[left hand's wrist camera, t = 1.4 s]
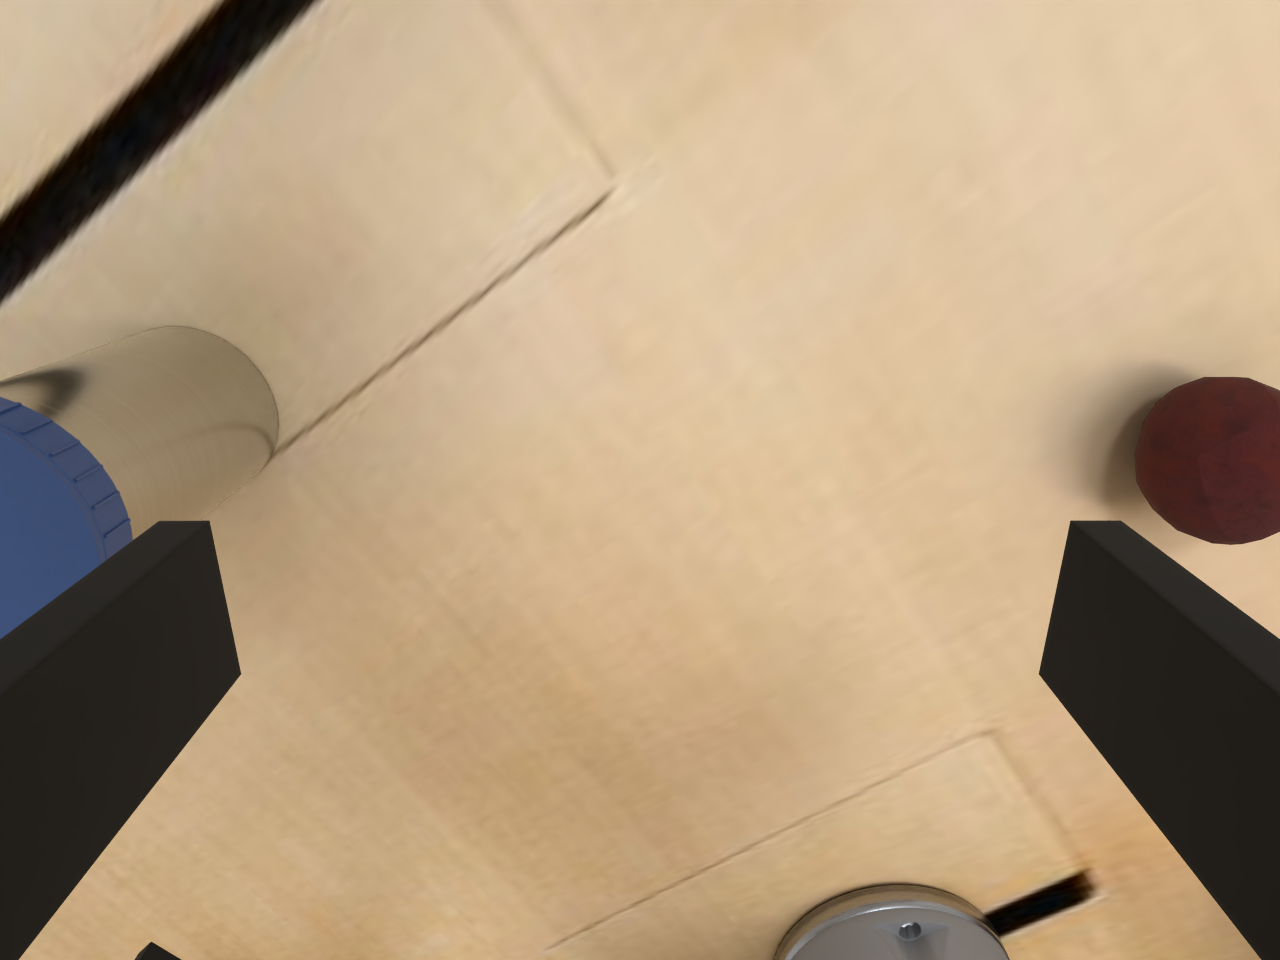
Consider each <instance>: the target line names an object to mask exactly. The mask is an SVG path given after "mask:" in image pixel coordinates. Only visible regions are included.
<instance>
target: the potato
mask: <svg viewBox="0 0 1280 960" xmlns="http://www.w3.org/2000/svg"><path fill="white" fill-rule="evenodd" d="M1135 466H1136V480H1137V483H1138V485H1139V487H1140V490H1141V492H1142V493H1143V495H1144V496H1145V498H1146V499H1147V501H1148V502H1149V504H1150V506H1151V507H1152V509H1153V510H1155V511H1156V512H1157V513H1158V514H1159V515H1160V516H1161V517H1162V518H1163V519H1164V520H1166V521H1167V522H1168V523H1169V524H1170V525H1172V526H1173V527H1174V528H1175V529H1176V530H1178V531H1180V532H1183V533H1186V534H1188V535H1191V536H1194V537H1196V538H1199V539H1202V540H1205V541H1207V542H1210V543H1216V544H1229V545H1233V544H1244V543H1248V542H1253V541H1257V540H1262V539H1264V538H1266V537H1269V536H1271V535H1273V534H1276V533H1278V532H1280V390H1278V389H1275V388H1273V387H1270V386H1267V385H1265V384H1262V383H1260V382H1257V381H1255V380H1252V379H1250V378H1241V377H1203V378H1201V379H1198V380H1195V381H1192V382H1189V383H1186V384H1184V385H1181V386H1178V387H1176V388H1174V389H1173V390H1171V391H1170V392H1169V393H1168V394H1167V395H1165V396H1164V397H1163V398H1162V399H1160V400H1159V401H1158V402H1157V403H1156V404H1155V406H1154V407H1153V409H1152V410H1151V412H1150V413H1149V415H1148V416H1147V418H1146V419H1145V421H1144V424H1143V427H1142V430H1141V434H1140V437H1139V441H1138V444H1137V448H1136V452H1135Z"/></svg>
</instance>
